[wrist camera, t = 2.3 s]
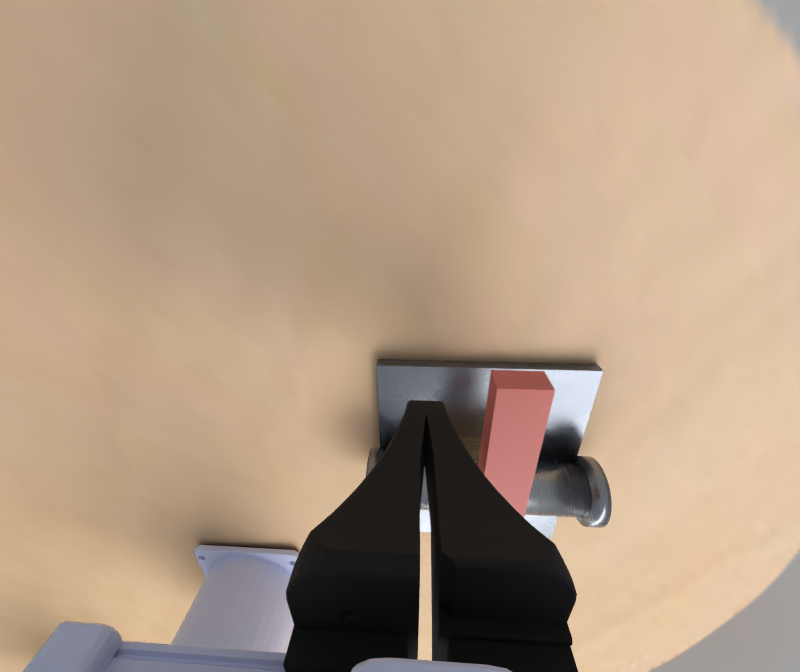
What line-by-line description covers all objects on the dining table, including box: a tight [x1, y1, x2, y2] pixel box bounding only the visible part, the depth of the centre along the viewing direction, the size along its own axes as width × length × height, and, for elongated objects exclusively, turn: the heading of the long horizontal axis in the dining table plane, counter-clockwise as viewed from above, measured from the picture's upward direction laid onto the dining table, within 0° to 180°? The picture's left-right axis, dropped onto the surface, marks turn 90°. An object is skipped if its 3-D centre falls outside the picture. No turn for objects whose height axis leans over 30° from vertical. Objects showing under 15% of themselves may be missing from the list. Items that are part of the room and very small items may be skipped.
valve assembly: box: [366, 359, 611, 539], centre depth 18 cm, size 12×13×4 cm
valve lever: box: [478, 370, 555, 517], centre depth 14 cm, size 10×3×1 cm, turn 0°
